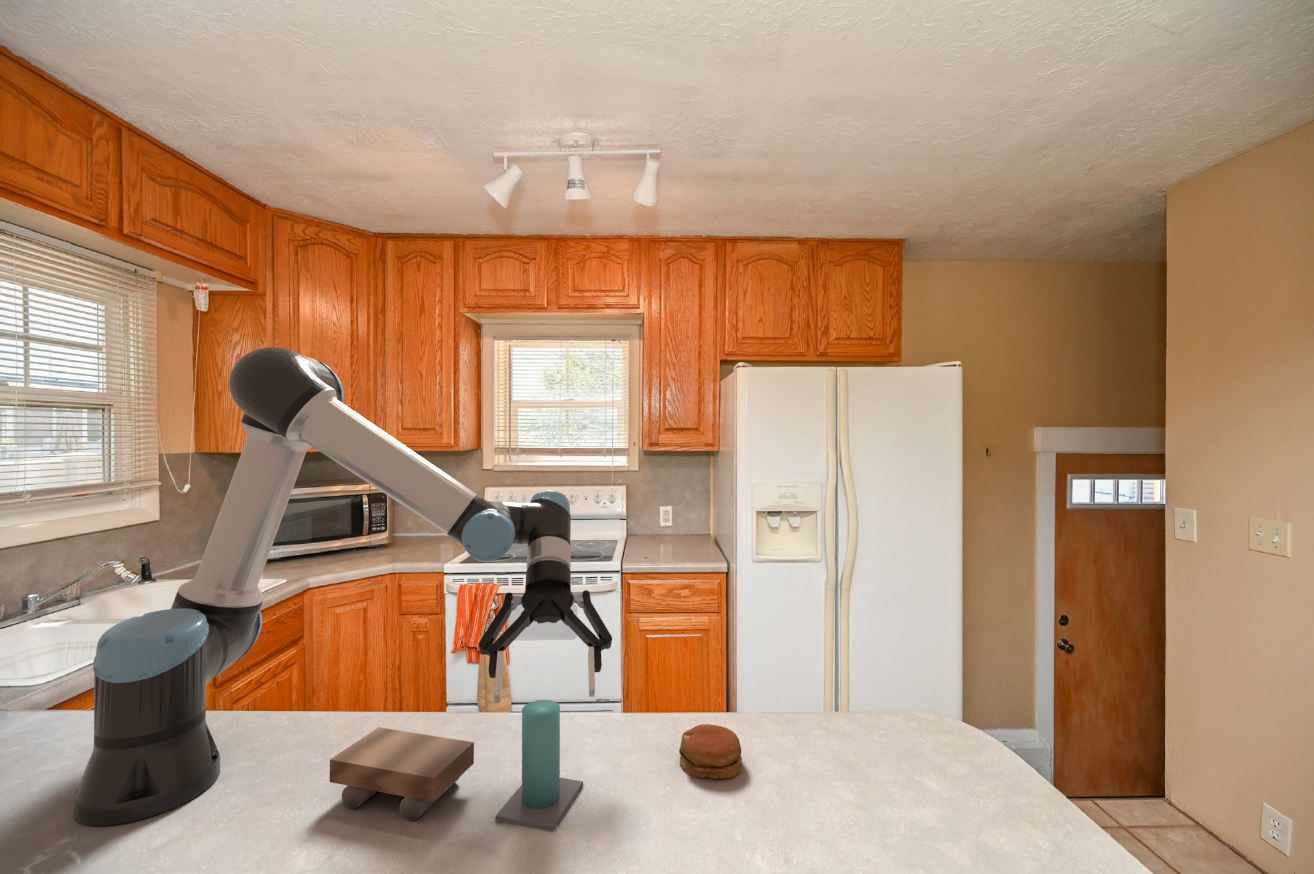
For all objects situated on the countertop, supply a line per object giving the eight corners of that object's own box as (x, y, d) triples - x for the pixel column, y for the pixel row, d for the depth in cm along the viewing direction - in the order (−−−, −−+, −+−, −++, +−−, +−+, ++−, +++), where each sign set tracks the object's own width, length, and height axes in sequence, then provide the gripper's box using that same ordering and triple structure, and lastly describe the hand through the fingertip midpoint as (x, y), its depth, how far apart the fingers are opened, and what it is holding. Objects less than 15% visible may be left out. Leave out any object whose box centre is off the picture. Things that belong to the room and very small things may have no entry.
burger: (752, 776, 84) (752, 744, 84) (693, 788, 81) (693, 754, 81) (724, 743, 93) (725, 714, 93) (670, 752, 91) (670, 722, 91)
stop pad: (495, 820, 74) (495, 815, 74) (531, 776, 83) (531, 772, 83) (552, 831, 71) (552, 826, 72) (583, 785, 81) (583, 781, 81)
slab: (329, 804, 76) (329, 759, 77) (378, 767, 85) (378, 727, 85) (433, 825, 72) (433, 778, 72) (473, 784, 81) (473, 742, 81)
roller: (515, 805, 76) (515, 714, 76) (532, 783, 80) (532, 698, 80) (550, 811, 74) (550, 719, 74) (565, 788, 79) (565, 702, 79)
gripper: (619, 579, 103) (627, 700, 88) (475, 583, 99) (458, 711, 84) (622, 556, 98) (632, 680, 83) (471, 559, 94) (452, 690, 79)
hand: (545, 696), depth 84 cm, fingers open, 13 cm apart
